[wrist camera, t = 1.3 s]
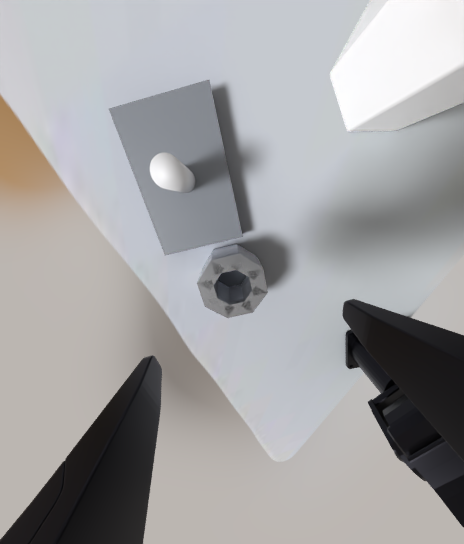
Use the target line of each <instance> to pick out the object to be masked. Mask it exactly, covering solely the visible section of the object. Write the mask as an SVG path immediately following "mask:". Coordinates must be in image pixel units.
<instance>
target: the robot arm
mask: <svg viewBox="0 0 464 544" xmlns="http://www.w3.org/2000/svg"><path fill="white" fill-rule="evenodd" d="M343 318H344V320H345V321H346V323H347V324H348V325H349V327H350V328H351V330H352V331H348V332H347V333H346V366H347V367H348V368H349V369H352V368H357V367H360V368H361V369H362V370H363V372H364V373H365V374H366V375H367V377H368V378H369V379H370V380H371V382H373V384H374V385H375V386H376V388H377V389H378V390H379V391H380V393H381V394H380V395H379V396H377V397H376V398H374V399H373V400H372V399H371V400H370V401H368V404H369V406H370V408H371V409H372V412H373V414H374V416H375V418H376V420H377V422H378V424H379V425H380V427H381V429H382V431H383V433H384V434H385V436H386V438H387V440H388V442H389V444H390V446H391V447H392V449H393V450H394V452H395V454H396V456H397V458H398V459H399V460H400V461H402V462H404V463H406V464H407V466H408V467H409V468H410V469H411V470H412V471H413V472H414V473H415V474H416V475H417V476H419V477H420V478H421V479H422V480H424V481H427V482H428V483H429V484H430V485H431V487H432V488H433V489H434V490H435V492H436V493H437V494H438V495H439V497H440V498H441V499H442V500H443V502H444V503H445V504H446V506H447V507H448V508H449V510H450V511H451V512H452V513H453V515H454V516H455V517H456V519H457V520H458V521H459V523H460V524H461V525H462V526H463V527H464V335H461V334H458V333H455V332H452V331H448V330H446V329H443V328H440V327H436V326H434V325H430V324H428V323H424V322H421V321H418V320H415V319H412V318H409V317H406V316H403V315H400V314H397V313H394V312H391V311H388V310H385V309H382V308H379V307H376V306H373V305H370V304H367V303H364V302H361V301H358V300H355V299H352V300H348V301H345V302H344V306H343ZM161 378H162V369H161V366H160V364H159V363H158V361H157V359H156V358H155V356H148V357H145V358H143V359H142V360H141V362H140V363H139V364H138V366H137V367H136V368H135V369H134V371H133V372H132V373H131V375H130V376H129V377H128V379H127V380H126V381H125V382H124V384H123V385H122V386H121V388H120V389H119V390H118V392H117V393H116V394H115V395H114V397H113V398H112V399H111V401H110V402H109V403H108V404H107V406H106V407H105V408H104V410H103V411H102V412H101V414H100V415H99V416H98V417H97V419H96V420H95V421H94V423H93V424H92V425H91V427H90V428H89V429H88V430H87V432H86V433H85V434H84V436H83V437H82V438H81V439H80V441H79V442H78V443H77V445H76V446H75V447H74V448H73V450H72V451H71V452H70V454H69V455H68V456H67V458H66V460H65V461H64V462H63V463H62V464H61V465H60V466H59V468H58V469H57V470H56V472H55V473H54V474H53V476H52V477H51V478H50V479H49V481H48V482H47V483H46V484H45V486H44V487H43V488H42V489H41V491H40V492H39V493H38V495H37V496H36V497H35V498H34V500H33V501H32V502H31V503H30V505H29V506H28V507H27V508H26V509H25V511H24V512H23V513H22V514H21V515H20V517H19V518H18V519H17V520H16V522H15V523H14V524H13V525H12V527H11V528H10V529H9V530H8V531H7V532H6V534H5V535H4V536H3V537H2V538H1V539H0V544H143V538H144V531H145V523H146V516H147V508H148V500H149V493H150V485H151V478H152V470H153V463H154V454H155V448H156V440H157V432H158V425H159V417H160V407H161V380H162V379H161Z"/></svg>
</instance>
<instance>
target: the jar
mask: <svg viewBox="0 0 464 544" xmlns="http://www.w3.org/2000/svg"><path fill="white" fill-rule="evenodd" d="M330 78H331V81H332V84H333V88H334V91H335V94H336V97H337V100H338V104H339V107H340V110H341V113H342V116H343V120H344V123H345V126H346V130H347V131H348V132H365V131H397V130H399V129H402V128H404V127H407V126H409V125H411V124H414V123H416V122H419V121H421V120H423V119H426V118H428V117H430V116H433V115H435V114H438V113H440V112H442V111H445V110H447V109H450V108H452V107H454V106H457V105H459V104H462V103H464V0H370V2H369V3H368V5H367V6H366V8H365V10H364V12H363V14H362V15H361V17H360V19H359V21H358V23H357V25H356V26H355V28H354V30H353V32H352V34H351V36H350V37H349V39H348V41H347V43H346V45H345V46H344V48H343V50H342V52H341V54H340V56H339V57H338V59H337V61H336V63H335V65H334V67H333V68H332V70H331V72H330Z"/></svg>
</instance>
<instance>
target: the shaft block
mask: <svg viewBox="0 0 464 544" xmlns="http://www.w3.org/2000/svg"><path fill="white" fill-rule="evenodd" d="M109 111H110V113H111V116H112V119H113V121H114V124H115V126H116V129H117V132H118V134H119V137H120V139H121V142H122V145H123V147H124V150H125V153H126V155H127V158H128V160H129V163H130V166H131V168H132V171H133V173H134V176H135V179H136V181H137V184H138V186H139V189H140V192H141V194H142V197H143V199H144V202H145V205H146V207H147V210H148V212H149V215H150V218H151V220H152V223H153V225H154V228H155V231H156V233H157V236H158V239H159V241H160V244H161V246H162V249H163V252H164V254H165V255H169V254H173V253H177V252H181V251H185V250H189V249H194V248H198V247H202V246H206V245H210V244H214V243H219V242H223V241H227V240H231V239H235V238H239V237H243V236H242V231H241V226H240V222H239V217H238V212H237V207H236V203H235V198H234V193H233V189H232V184H231V179H230V175H229V170H228V165H227V160H226V156H225V151H224V146H223V142H222V137H221V132H220V127H219V123H218V118H217V113H216V109H215V104H214V99H213V94H212V90H211V85H210V80H206V81H203V82H199V83H196V84H192V85H189V86H185V87H182V88H179V89H175V90H172V91H168V92H165V93H161V94H158V95H155V96H151V97H148V98H144V99H141V100H137V101H134V102H130V103H127V104H124V105H120V106H117V107H113V108H110V109H109Z"/></svg>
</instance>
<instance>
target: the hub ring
mask: <svg viewBox="0 0 464 544" xmlns="http://www.w3.org/2000/svg"><path fill="white" fill-rule="evenodd" d="M234 270H237V271H239V272H241V273H243V274H244V275H246V278H245V279H244V281H243V282H242V283H241V284H240V285H236V286H231V287H228V286H226V285H225V284H223V283H221V282H219V280H218V278H219V276H220V274H221V273H225V272H229V271H234ZM197 284H198V287H199V290H200V293H201V296H202V299H203V302H204V305H205V307H207V308H209V309H211V310H213V311H215V312H217V313H219V314H221V315H223V316H225V317H227V318H230V317H234V316H239V315H243V314H248V313H253V311H254V310H255V309H256V307H257V306H258V305H259V304H260V302H261V301H262V300H263V298H264V297H265V296H266V294H267V293H268V291H267V286H266V281H265V275H264V270H263V267H262V265H261V263H260V262H259V260H258V258H257V256H256V255H254V254H252V253H251V252H249V251H248V250H246V249H244V248H243V247H241V246H239V245H238V244H234V245H230V246H226V247H222V248H218V249H214V250H213V251H212V253H211V255H210V256H209V258H208V260H207V262H206V263H205V265H204V267H203V268H202V271H201V274H200V277H199V279H198V282H197Z"/></svg>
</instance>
